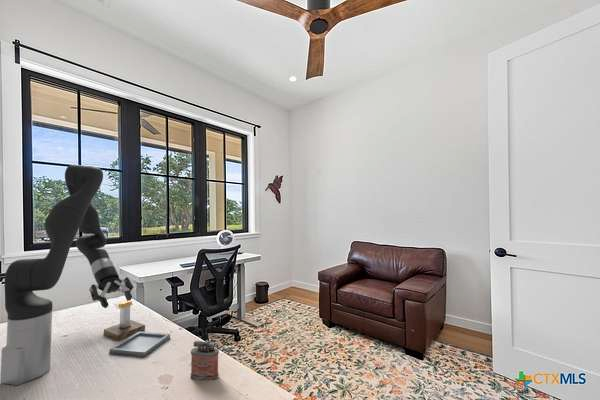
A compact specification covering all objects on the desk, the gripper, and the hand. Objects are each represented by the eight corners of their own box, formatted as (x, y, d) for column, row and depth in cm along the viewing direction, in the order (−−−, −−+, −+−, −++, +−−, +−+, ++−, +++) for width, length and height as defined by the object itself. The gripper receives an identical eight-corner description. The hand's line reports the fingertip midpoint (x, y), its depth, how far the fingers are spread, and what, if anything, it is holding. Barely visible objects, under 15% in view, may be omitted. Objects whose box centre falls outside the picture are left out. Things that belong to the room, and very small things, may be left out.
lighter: (220, 374, 77) (220, 339, 78) (215, 381, 74) (216, 344, 74) (194, 372, 78) (194, 337, 79) (188, 379, 75) (188, 343, 75)
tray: (144, 357, 86) (144, 352, 86) (109, 353, 88) (109, 349, 88) (170, 338, 99) (170, 333, 99) (138, 335, 101) (139, 331, 101)
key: (120, 335, 101) (121, 304, 102) (117, 333, 103) (118, 303, 103) (131, 331, 105) (132, 301, 105) (128, 329, 106) (129, 300, 107)
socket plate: (117, 340, 97) (117, 335, 97) (103, 334, 102) (103, 329, 102) (144, 330, 106) (145, 324, 106) (130, 324, 111) (130, 319, 111)
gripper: (87, 269, 105) (102, 303, 99) (126, 262, 117) (140, 292, 111) (81, 280, 107) (94, 315, 101) (119, 273, 120) (133, 303, 114)
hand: (118, 303), depth 106 cm, fingers open, 8 cm apart
